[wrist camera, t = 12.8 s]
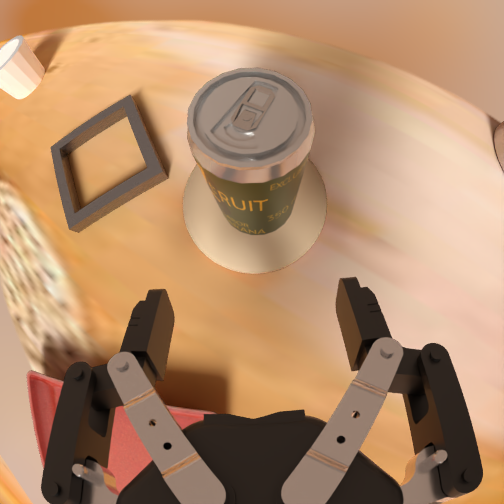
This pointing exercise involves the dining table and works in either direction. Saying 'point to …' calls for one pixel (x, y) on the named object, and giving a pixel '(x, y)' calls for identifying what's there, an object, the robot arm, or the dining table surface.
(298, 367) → the dining table surface
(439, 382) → the robot arm
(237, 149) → the beer can
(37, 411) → the plant saucer
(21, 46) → the white tapered cylinder
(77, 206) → the collar
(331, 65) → the dining table surface
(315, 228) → the coaster
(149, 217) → the dining table surface
